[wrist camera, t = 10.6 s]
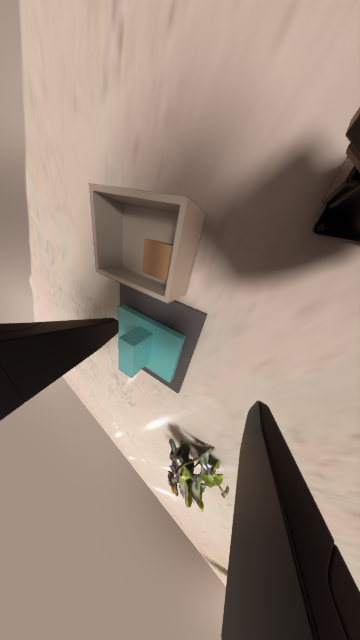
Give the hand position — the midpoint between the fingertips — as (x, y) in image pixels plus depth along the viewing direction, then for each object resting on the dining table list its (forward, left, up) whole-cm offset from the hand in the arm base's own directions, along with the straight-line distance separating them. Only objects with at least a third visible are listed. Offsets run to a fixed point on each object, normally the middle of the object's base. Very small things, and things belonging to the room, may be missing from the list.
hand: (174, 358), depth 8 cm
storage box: (+12, -4, -13) cm, 18 cm away
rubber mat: (+10, +12, -13) cm, 20 cm away
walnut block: (+9, -3, -12) cm, 16 cm away
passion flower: (-8, +35, -13) cm, 38 cm away
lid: (+10, +12, -12) cm, 20 cm away
